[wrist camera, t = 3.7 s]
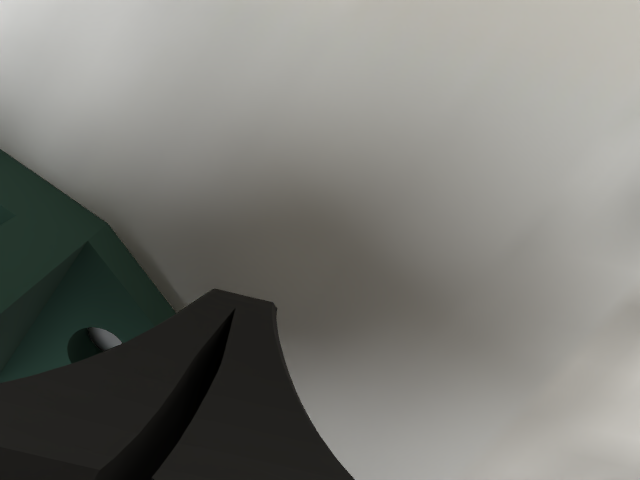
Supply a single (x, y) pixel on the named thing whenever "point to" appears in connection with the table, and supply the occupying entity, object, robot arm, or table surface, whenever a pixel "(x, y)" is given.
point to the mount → (62, 278)
